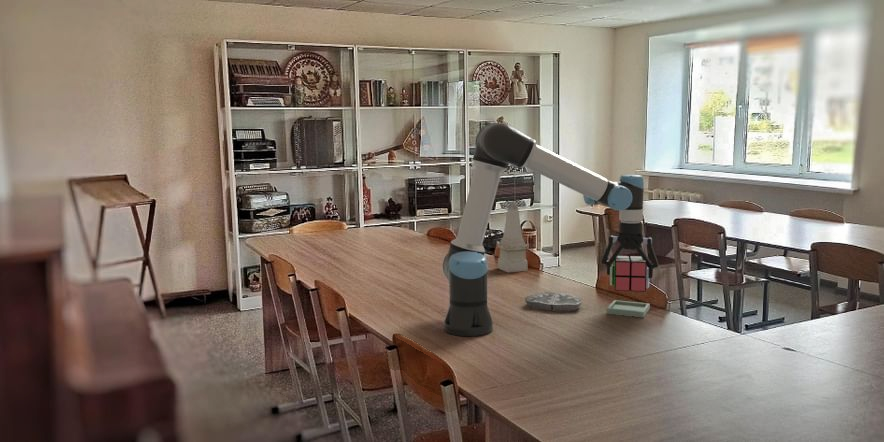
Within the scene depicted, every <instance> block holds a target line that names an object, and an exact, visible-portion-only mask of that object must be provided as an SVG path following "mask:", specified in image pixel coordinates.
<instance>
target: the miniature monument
mask: <svg viewBox="0 0 884 442" xmlns="http://www.w3.org/2000/svg"><path fill="white" fill-rule="evenodd" d="M522 232H523V231H522V226H521V219H520V211H519V206H518V205H517V204H516V203H515V202H514V201H511V203H509V204H508V206H507V209H506V216H505V223H504V231H503V234H502V235H503V236H502V237H501V240H500V241H498V240H496V248H498V249H499V257H498V258H497V269H499V270H501V271H503V272H506V273H515V272H516V273H517V272H526V271H528V269H529V268H528V264H529V263H528V260H527V255H526V254H527V250H529V249H530V243H529V242H528V243H527V242H525V238H523V233H522Z"/></svg>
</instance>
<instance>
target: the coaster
mask: <svg viewBox="0 0 884 442" xmlns="http://www.w3.org/2000/svg"><path fill="white" fill-rule="evenodd" d="M650 306H651V304H650V303H647V302H636V301H629V300H628V301H626V300H616V299H615V300H613V301H612V302H611V303H610V304H609V305H608V307H607V308H606V315H614V314H615V316H623V315H624V317H632V316H634V318H635V317H636V318H642V317H643V319H644V318H645V316H646V315H647V313H648V312H649V310H650V308H651V307H650Z"/></svg>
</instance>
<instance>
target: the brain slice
mask: <svg viewBox="0 0 884 442" xmlns="http://www.w3.org/2000/svg"><path fill="white" fill-rule="evenodd" d="M524 301H525V303H526V304H527V306H528V307H530V308H531V309H534V310H540V311H546V312H547V311H548V312H559V311H560V312H574V311H576V310H577V309H578V308H579V307H580V305H581V304H582V302H583V298H580V297H579V296H577V295H573V294H571V293H566V292H558V293H557V292H556V293H555V292H550V291H548V292H546V291H545V292H539V293H538V292H537V293H536V294H532V295H529V296H527V297H525V299H524Z"/></svg>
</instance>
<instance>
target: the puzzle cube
mask: <svg viewBox="0 0 884 442" xmlns="http://www.w3.org/2000/svg"><path fill="white" fill-rule="evenodd" d="M613 265H614V284H613V288H614V291H615V292H639V293H640V292H641V293H642V292H644V293H645V292H646V291H647V289H646V269H647V268H648V266H647V262H646V261H645V260H643V259H642V257H641V255H640V256H638V255H637V256H635V255H633V256H632V255H631V256H628V255H618V256H617V257H616V258H615V260H614V262H613Z"/></svg>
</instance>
